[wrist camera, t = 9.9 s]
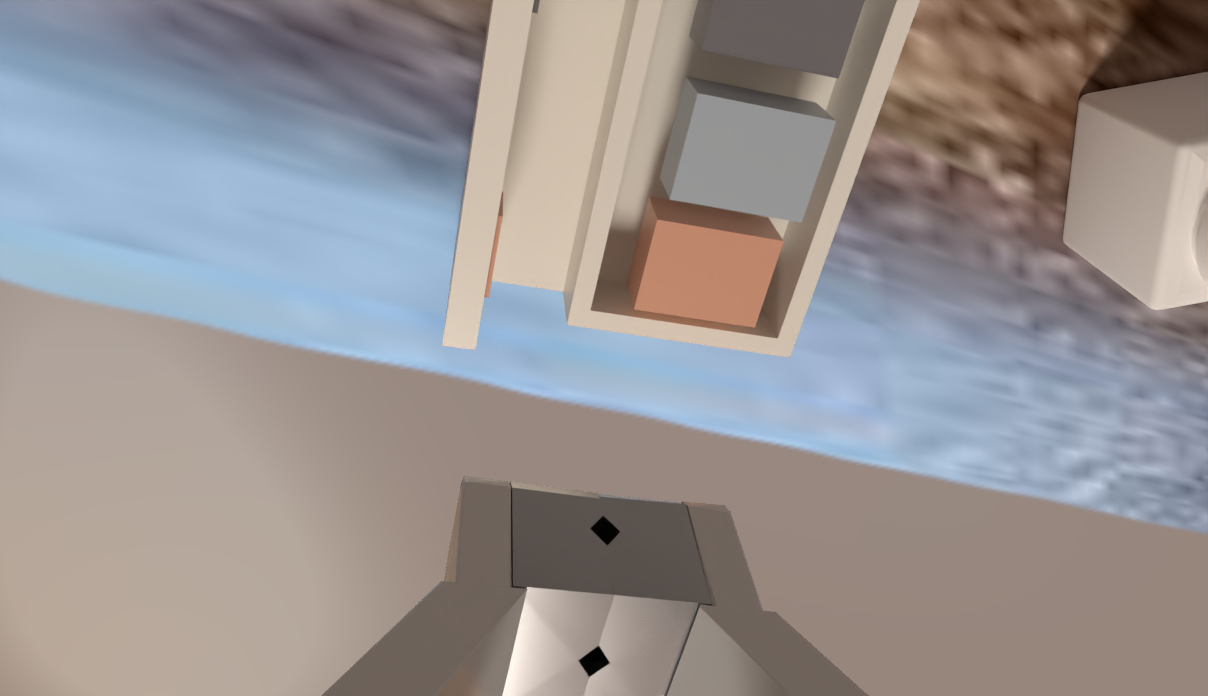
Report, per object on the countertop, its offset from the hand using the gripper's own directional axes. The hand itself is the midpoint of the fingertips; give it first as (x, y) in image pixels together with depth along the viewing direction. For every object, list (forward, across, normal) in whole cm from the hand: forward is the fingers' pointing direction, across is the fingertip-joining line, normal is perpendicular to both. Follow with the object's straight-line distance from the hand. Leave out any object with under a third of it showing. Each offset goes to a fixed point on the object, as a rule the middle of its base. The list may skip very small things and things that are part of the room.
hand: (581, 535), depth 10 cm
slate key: (+25, -8, +1) cm, 26 cm away
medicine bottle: (+29, -28, 0) cm, 41 cm away
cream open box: (+29, -6, +2) cm, 30 cm away
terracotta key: (+26, -8, +7) cm, 28 cm away
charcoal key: (+26, -8, -4) cm, 27 cm away
